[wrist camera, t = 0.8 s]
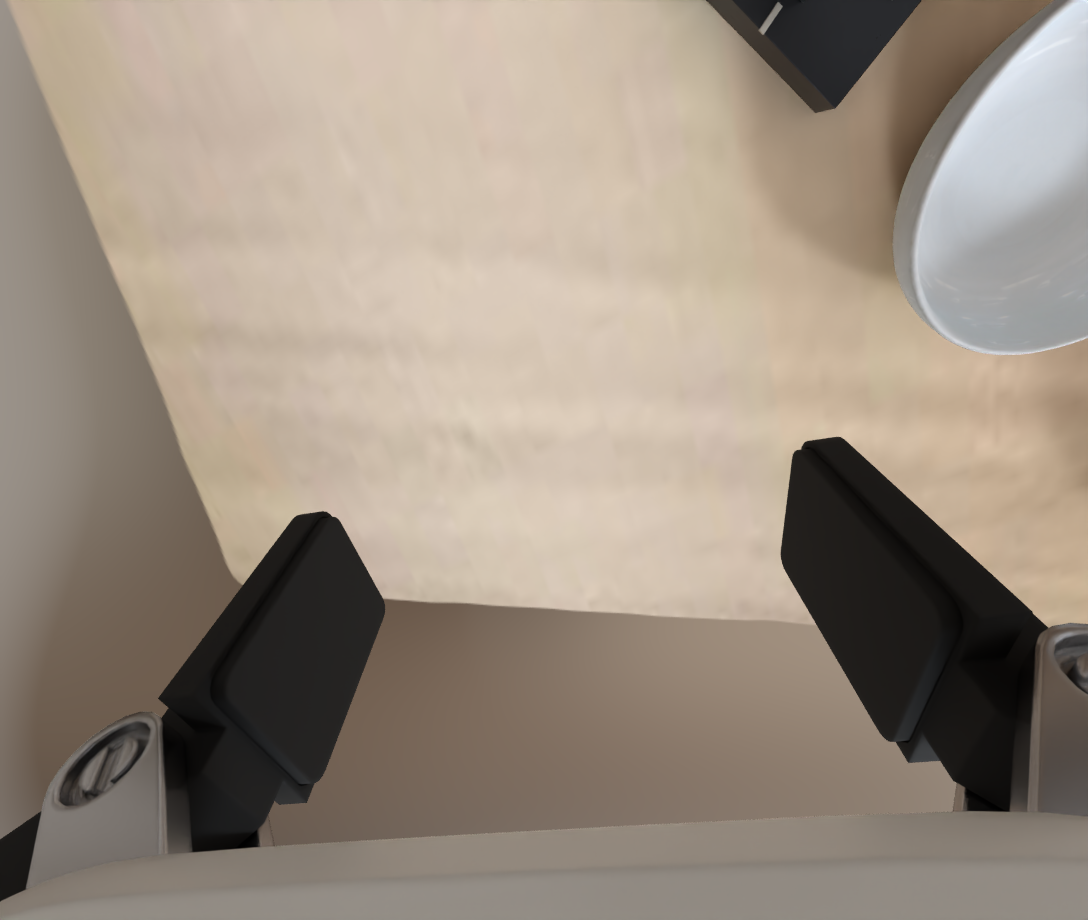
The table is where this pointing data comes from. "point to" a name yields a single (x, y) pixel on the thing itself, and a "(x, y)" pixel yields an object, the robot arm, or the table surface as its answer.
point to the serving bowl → (1005, 197)
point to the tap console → (817, 40)
